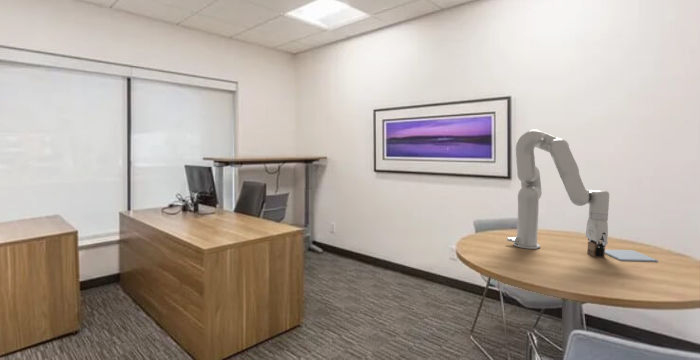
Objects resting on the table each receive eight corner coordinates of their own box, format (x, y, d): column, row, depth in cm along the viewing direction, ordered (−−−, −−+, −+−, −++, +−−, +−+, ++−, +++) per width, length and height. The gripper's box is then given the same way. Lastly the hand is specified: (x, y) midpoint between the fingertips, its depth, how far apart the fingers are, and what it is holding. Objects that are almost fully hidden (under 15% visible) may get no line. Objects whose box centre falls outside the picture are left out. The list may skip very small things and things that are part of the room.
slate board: (620, 260, 166) (620, 259, 166) (598, 251, 182) (598, 249, 182) (657, 261, 165) (657, 260, 165) (632, 251, 181) (633, 250, 181)
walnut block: (593, 256, 172) (594, 244, 172) (587, 253, 177) (588, 241, 176) (604, 257, 172) (605, 244, 171) (598, 254, 177) (598, 241, 176)
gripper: (580, 213, 181) (577, 249, 183) (600, 219, 165) (598, 259, 166) (595, 213, 181) (593, 249, 182) (618, 220, 164) (615, 260, 166)
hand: (595, 253), depth 174 cm, fingers closed on walnut block, 5 cm apart
